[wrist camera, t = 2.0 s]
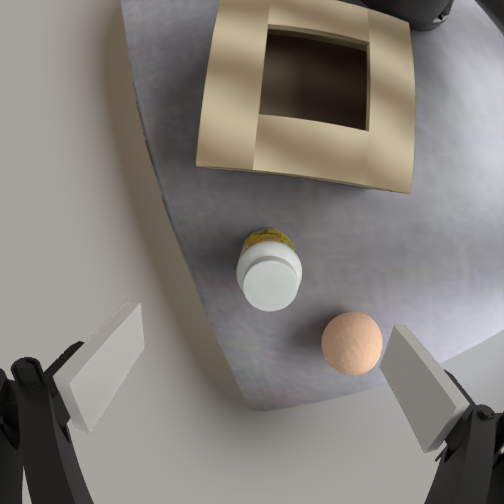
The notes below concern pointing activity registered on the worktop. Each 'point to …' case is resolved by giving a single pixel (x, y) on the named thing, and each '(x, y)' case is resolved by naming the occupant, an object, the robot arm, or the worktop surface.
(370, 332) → the egg
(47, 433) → the robot arm
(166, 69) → the worktop surface
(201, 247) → the worktop surface
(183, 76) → the worktop surface
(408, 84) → the drop box
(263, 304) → the supplement bottle
